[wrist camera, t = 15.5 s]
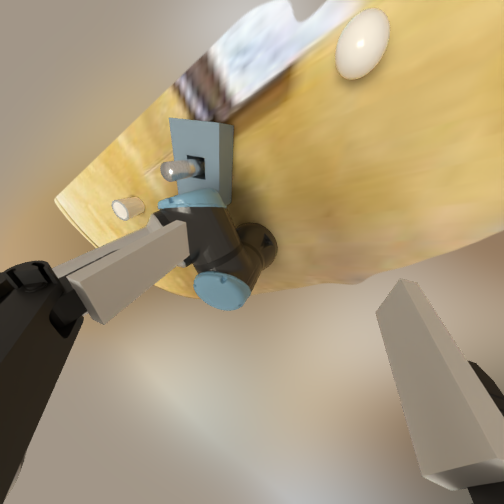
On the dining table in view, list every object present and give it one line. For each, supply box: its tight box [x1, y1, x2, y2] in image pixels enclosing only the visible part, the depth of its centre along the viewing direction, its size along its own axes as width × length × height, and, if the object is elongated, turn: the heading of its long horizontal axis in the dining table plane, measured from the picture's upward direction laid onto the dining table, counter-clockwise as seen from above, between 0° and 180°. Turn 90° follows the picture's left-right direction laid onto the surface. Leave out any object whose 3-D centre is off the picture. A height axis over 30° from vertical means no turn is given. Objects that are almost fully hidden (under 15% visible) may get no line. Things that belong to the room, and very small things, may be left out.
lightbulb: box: [335, 8, 390, 80], centre depth 26 cm, size 6×6×11 cm
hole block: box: [169, 118, 234, 206], centre depth 45 cm, size 18×12×7 cm, turn 174°
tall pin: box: [160, 158, 205, 182], centre depth 41 cm, size 4×4×16 cm
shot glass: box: [112, 197, 145, 221], centre depth 61 cm, size 7×7×7 cm
